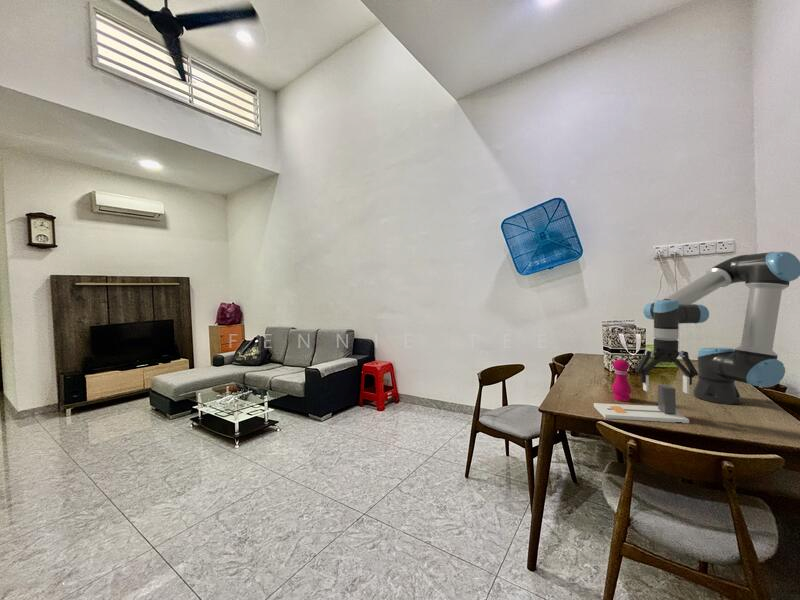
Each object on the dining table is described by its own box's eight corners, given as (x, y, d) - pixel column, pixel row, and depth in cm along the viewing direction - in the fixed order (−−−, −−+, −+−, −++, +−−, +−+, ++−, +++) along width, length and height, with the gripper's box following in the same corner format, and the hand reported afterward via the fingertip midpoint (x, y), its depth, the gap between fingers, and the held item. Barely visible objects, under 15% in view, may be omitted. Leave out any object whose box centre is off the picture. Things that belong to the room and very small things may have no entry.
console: (669, 410, 131) (669, 406, 131) (689, 423, 118) (689, 419, 118) (593, 406, 138) (593, 402, 138) (605, 418, 125) (605, 414, 125)
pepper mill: (634, 402, 141) (633, 358, 140) (616, 401, 142) (615, 358, 142) (626, 396, 148) (625, 354, 147) (609, 396, 149) (608, 354, 149)
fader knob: (668, 409, 127) (668, 385, 127) (675, 414, 122) (675, 388, 122) (658, 408, 128) (657, 384, 128) (665, 413, 123) (664, 388, 123)
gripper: (697, 338, 125) (697, 390, 126) (625, 336, 131) (625, 387, 132) (710, 341, 118) (710, 396, 118) (634, 339, 124) (633, 392, 125)
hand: (665, 391), depth 125 cm, fingers open, 13 cm apart
